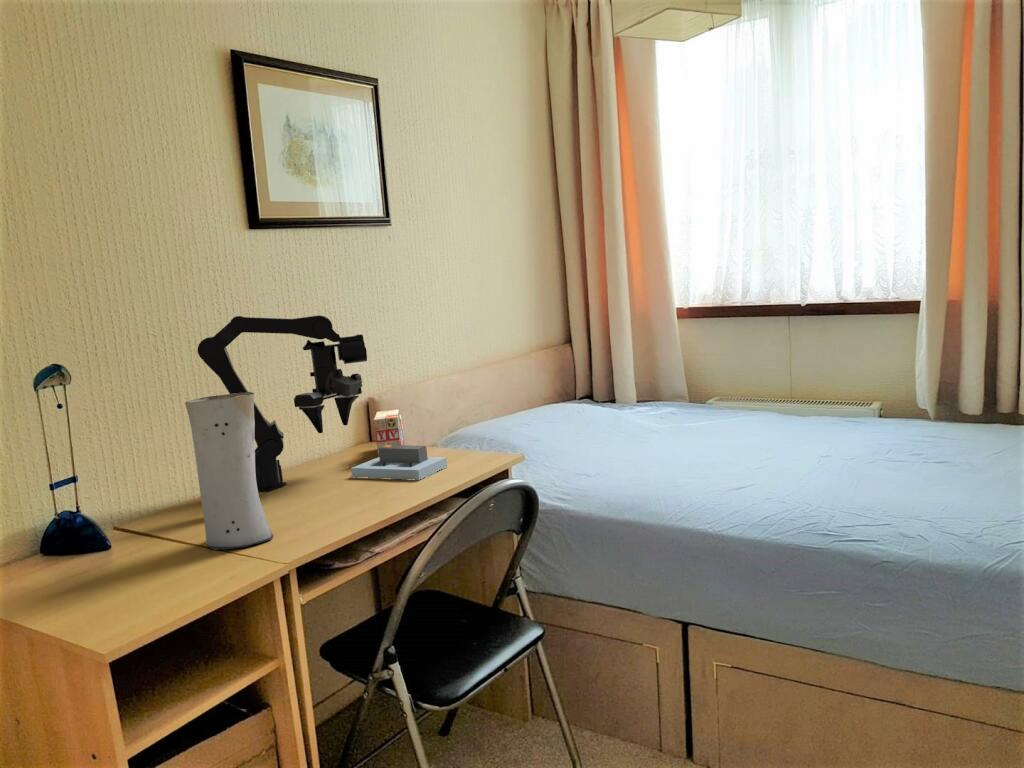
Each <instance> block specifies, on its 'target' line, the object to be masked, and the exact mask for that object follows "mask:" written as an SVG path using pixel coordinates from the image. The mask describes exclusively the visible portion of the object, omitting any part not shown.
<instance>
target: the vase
mask: <svg viewBox="0 0 1024 768" xmlns="http://www.w3.org/2000/svg"><path fill="white" fill-rule="evenodd" d="M254 402H255V392H252V391H248V392H243V393H234V394H230V393H227V394H219V395H210V396H205V397H200V398H195V399H190V400H188V401H185V402H184V404H185V408H186V411H187V416H188V419H189V424H190V429H191V436H192V441H193V448H194V449H193V450H194V457H195V464H196V470H197V471H196V472H197V478H198V484H199V485H198V487H199V491H200V492H199V493H200V499H201V508H202V514H203V522H204V523H203V524H204V531H205V541H206V546H207V548H210V549H211V550H214V551H216V552H217V551H219V550H231V549H232V550H233V549H238V548H239V549H240V548H245V547H250V546H254V545H256V544H261V543H264V542H267V541H271V540H272V539H273V537H274V535H273V531H272V529H271V526H270V523H269V521H268V519H267V516H266V513H265V510H264V508H263V504H262V502H261V499H260V495H259V494H260V493H259V491H258V489H257V483H256V472H255V449H256V448H255V447H256V446H255V445H256V441H255V438H254V437H255V430H254V429H255V421H254Z"/></svg>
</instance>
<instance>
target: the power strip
mask: <svg viewBox="0 0 1024 768" xmlns="http://www.w3.org/2000/svg"><path fill="white" fill-rule="evenodd" d="M378 450H379V458H380V462H385V465H389V464H391V463H393V462H396V463H411V464H412V467H413V466H415V465H417V464H419V463H421V462H423V461H426V460H428V457H429V456H428V449H427V445H412V444H411V445H410V444H409V445H408V444H407V445H406V444H405V445H386V446H383V447H381V448H378ZM378 450H377V451H378Z"/></svg>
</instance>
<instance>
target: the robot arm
mask: <svg viewBox="0 0 1024 768" xmlns="http://www.w3.org/2000/svg"><path fill="white" fill-rule="evenodd" d="M242 333H250V334H251V333H257V334H287V335H288V334H289V335H296V336H301V337H306V338H310V339H315V340H321V341H315V342H312V341H311V340H310V339H307V340H306V343H305V344H304V345H303V346H302V350H303V351H310V355H311V363H312V369H313V371H311V372H309V375H310V377H314V385H315V388H312V392H304V393H300V394H296V395H295V396H294V398H293V402H294V408H298V410H301V411H302V412H303V413H304V414H305V416H306V417H307V418H308V420H309V421H310V423H311V424H312V425H313V427H314V429H315V430H316V431H317V433H318V434H323V433H324V432H323V431H324V430H323V429H324V424H323V414H322V411H323V410H324V408H325V404H323V403H324V400H327V399H331V398H334V402H335V405H336V408H337V410H338V414H339V417H340V420H341V422H342V425H343V426H348V423H349V419H350V413H351V409H352V407H353V406H352V405H353V403H354V402H355V401H356V399H358V398H359V397H360V395H361V394H363V391H362V387H363V379H362V376H361V374H359V373H356V372H355V373H352V374H351V375H347V376H345V375H344V373H343V370H342V368H338V364H337V359H338V361H342V362H343V365H349V364H356V363H362V362H363V363H364V362H367V361H368V352H367V347H366V345H365V344H366V343H365V340H364V335H363V334H362V333H361V334H355V335H351V336H342V337H341V336H340V334H339V333H337V332H336V331H335V330H334V329H333V323H332V322H331V320H330V319H329V318H328V317H326V316H325V315H310V316H303V317H297V318H282V317H281V318H280V317H279V318H277V317H275V318H274V317H252V316H251V317H249V316H248V317H247V316H243V315H236V316H233V318H232V319H230V321H229V322H228V323H227V324H226V325H225V326H224V327H223V328H221V329H220V330H219V331H218V332H217V333H216V334H215V335H214V336H209V337H205V338H204V339H202V340H201V341H200V342H199V343H198V346H197V354H198V357H199V358H200V359H201V360H202V361H203V362H204V363H205V365H207V366H208V368H209V369H210V370H212V372H214V373H215V375H216V376H218V378H219V379H220V381H221V382H222V384H223V385H224V387H225V389H226V390H227V392H228V394H234V393H243V392H249V391H248V389H247V387H246V386H245V384H244V383H243V381H242V380H241V378H240V376H239V374H238V373H237V372H236V370H235V368H234V365H233V362H232V360H231V357H230V354H229V352H228V350H227V347H228V346H229V345H230V344H231V343H232V342H233V341H235V339H237V337H239V336H240V335H241V334H242ZM324 339H326V340H328V341H330V342H332V343H333V344H326V343H325V340H324ZM323 340H324V341H323ZM336 350H337V356H336ZM336 357H338V358H336ZM254 421H255V429H254V430H255V437H254V441H255V445H256V446H257V447H256V448H255V472H256V483H257V489H258V492H271V491H273V490H276V489H278V488H281V487H283V486H285V485H288V482H287V481H283V480H284V479H283V478H284V477H283V471H282V465H281V463H280V459H277V457H278V456H280V455H281V454H282V452H283V450H284V438H285V437H284V432H283V431H281V430H280V429H279V426H278V424H277V421H276V420H275V419H274V420H272V421H271V422H269V420H268V419H267V418H266V417H265V416H264V415H263V413H262V412H261V410H260V408H259V406H258V405H257V403H256V402H255V401H254Z"/></svg>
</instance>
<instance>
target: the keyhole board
mask: <svg viewBox="0 0 1024 768" xmlns="http://www.w3.org/2000/svg"><path fill="white" fill-rule="evenodd" d="M427 457H428V460H426V461H423V462H421V463H419V464H417V465H415V466H413V467H412V464H411V463H396V462H393V463H391V464H389V465H385V462H380V458H379V457H378V456H377V457H375V458H373V459H371V460H368V461H365V462H363V463H360V464H357V465H355V466H352V467H351V478H352V477H368V478H391V479H390V480H392V479H415V480H414V481H417V480H420V479H422V478H424V477H426V476H428V475H430V476H432V475H434V474H433V473H435V472H437V471H439V470H441V469H443V468H445V467H447V468H448V461H447V457H437V456H436V457H434V456H427ZM445 469H446V468H445ZM443 470H444V469H443ZM441 471H442V470H441ZM439 472H440V471H439ZM437 473H438V472H437ZM431 474H432V475H431ZM435 474H436V473H435ZM428 477H429V476H428ZM426 478H427V477H426ZM424 479H425V478H424ZM422 480H423V479H422ZM420 481H421V480H420Z"/></svg>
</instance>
